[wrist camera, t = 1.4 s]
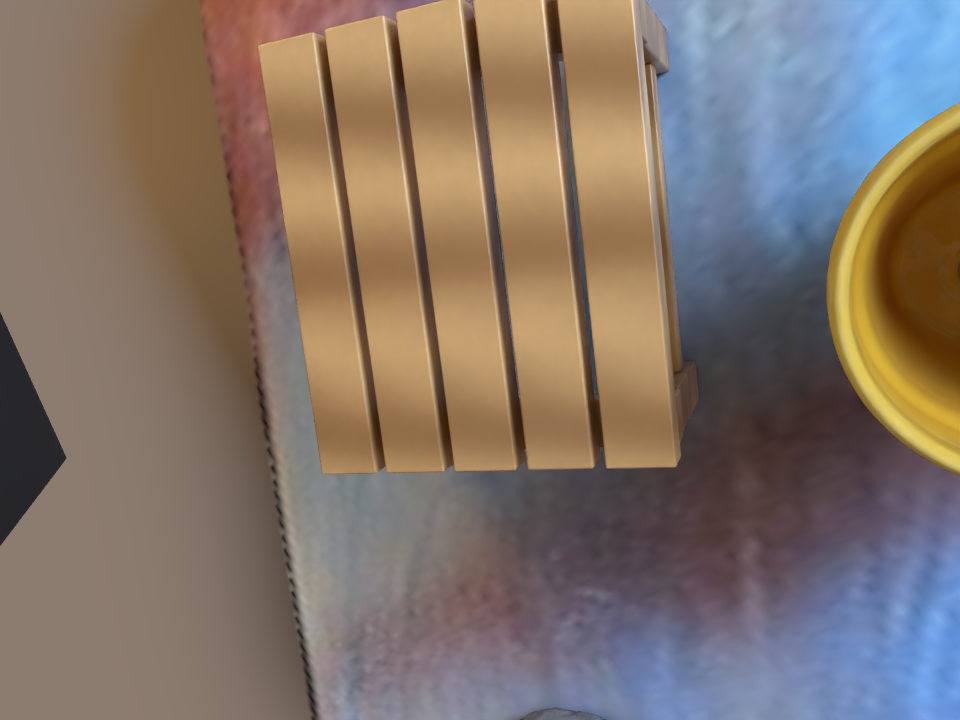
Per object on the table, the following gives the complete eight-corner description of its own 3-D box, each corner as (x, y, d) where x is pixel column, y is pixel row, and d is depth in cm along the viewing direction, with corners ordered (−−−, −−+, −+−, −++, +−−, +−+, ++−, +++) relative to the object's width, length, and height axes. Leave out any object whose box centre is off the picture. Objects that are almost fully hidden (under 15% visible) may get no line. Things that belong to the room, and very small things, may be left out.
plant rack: (368, 79, 35) (256, 45, 28) (667, 15, 31) (628, -46, 24) (414, 422, 37) (321, 474, 30) (702, 410, 33) (676, 468, 26)
